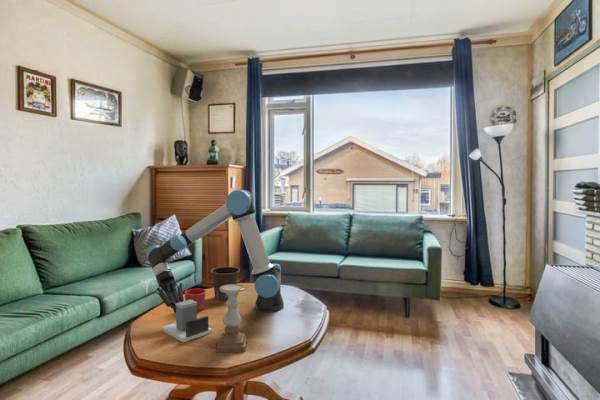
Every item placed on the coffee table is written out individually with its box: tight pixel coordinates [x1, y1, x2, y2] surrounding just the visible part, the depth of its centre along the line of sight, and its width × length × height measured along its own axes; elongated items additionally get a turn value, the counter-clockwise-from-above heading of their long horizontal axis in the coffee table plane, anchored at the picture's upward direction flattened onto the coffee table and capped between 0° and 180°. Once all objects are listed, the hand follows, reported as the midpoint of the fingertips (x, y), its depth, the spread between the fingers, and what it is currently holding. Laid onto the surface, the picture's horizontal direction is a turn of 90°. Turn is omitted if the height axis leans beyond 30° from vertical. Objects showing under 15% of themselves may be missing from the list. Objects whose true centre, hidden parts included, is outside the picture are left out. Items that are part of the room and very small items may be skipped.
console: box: [161, 315, 213, 343], centre depth 157 cm, size 18×14×8 cm
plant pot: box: [210, 266, 241, 302], centre depth 204 cm, size 16×16×16 cm
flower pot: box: [184, 288, 207, 313], centre depth 184 cm, size 11×11×10 cm
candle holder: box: [216, 283, 248, 354], centre depth 142 cm, size 11×11×24 cm
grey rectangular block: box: [175, 300, 198, 331], centre depth 157 cm, size 5×7×11 cm
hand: (181, 317), depth 159 cm, fingers closed
